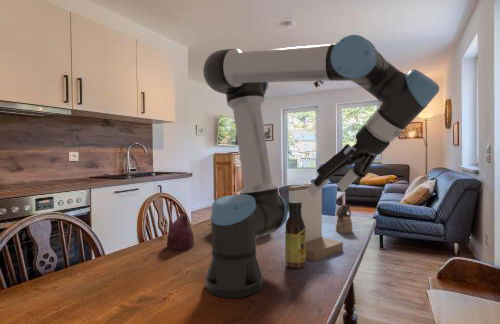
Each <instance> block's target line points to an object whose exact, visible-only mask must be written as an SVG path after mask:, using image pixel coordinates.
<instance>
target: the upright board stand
mask: <svg viewBox="0 0 500 324" xmlns="http://www.w3.org/2000/svg"><path fill="white" fill-rule="evenodd" d="M311 184H312V183H311ZM311 184H303V185H295V186H293V185H291V186H288V187H287V189H288V203H289V202H290V201H299V202H302V207H301V216H302V219H303V222H304V225H305V235H306V260H309V261H312V262H317V261H320V260H323V259H325V258H328V257H331V256H333V255H336V254H337V253H341V252H343V251H344V250H343V249H344V242H343V241H339V240H335V239H331V238H327V237H323V198H322V197H323V192H322V191H323V188H322V189H321V190H320V191H319V192H318V193H317V194H316V195H315V196H314V197H313V196H312V195H311V193H310V192H309V191H308V189H307V188H308V187H309V186H310V185H311Z"/></svg>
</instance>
